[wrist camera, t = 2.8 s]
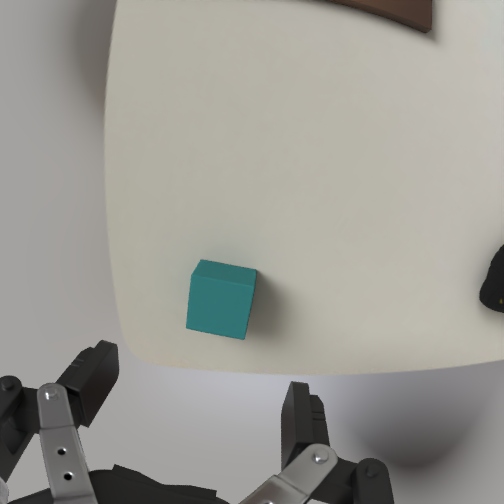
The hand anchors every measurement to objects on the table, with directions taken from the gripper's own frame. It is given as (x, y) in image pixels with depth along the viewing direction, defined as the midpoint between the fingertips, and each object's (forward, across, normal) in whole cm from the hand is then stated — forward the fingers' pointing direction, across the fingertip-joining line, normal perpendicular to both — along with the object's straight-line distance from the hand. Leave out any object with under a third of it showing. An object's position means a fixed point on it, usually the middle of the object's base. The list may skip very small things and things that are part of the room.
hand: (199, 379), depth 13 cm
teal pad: (+10, 0, 0) cm, 10 cm away
